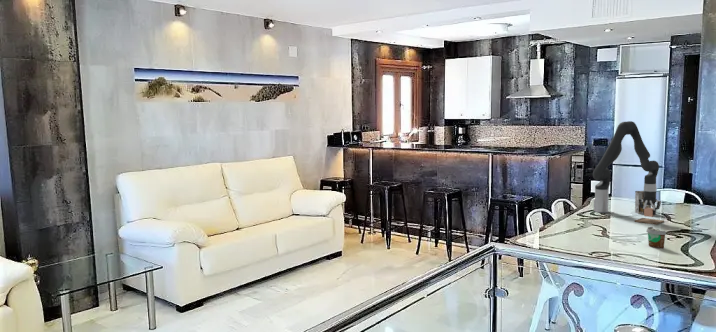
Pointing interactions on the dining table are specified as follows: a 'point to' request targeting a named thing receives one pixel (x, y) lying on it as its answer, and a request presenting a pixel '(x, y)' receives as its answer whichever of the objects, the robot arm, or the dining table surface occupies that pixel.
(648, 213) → the terracotta cube
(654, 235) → the food container
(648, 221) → the walnut board
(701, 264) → the dining table surface
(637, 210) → the coffee box
